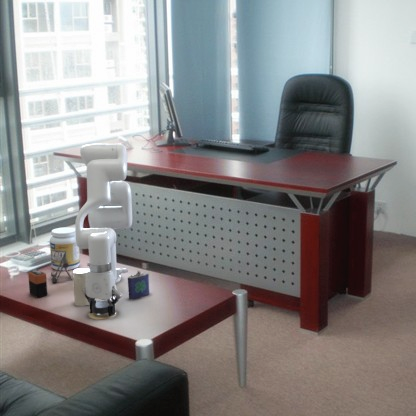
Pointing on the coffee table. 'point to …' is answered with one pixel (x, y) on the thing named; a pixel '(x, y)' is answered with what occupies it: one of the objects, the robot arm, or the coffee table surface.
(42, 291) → the battery
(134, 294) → the flask
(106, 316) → the coaster
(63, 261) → the tablet stand
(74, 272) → the jar
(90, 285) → the robot arm
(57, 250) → the supplement tub
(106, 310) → the lid
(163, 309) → the coffee table surface
